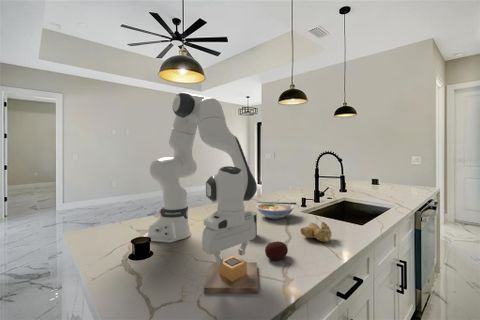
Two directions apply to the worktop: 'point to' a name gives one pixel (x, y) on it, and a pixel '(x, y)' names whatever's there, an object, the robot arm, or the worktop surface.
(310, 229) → the ginger root
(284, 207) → the ramen bowl
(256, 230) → the canned tomato
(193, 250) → the worktop surface
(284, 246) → the potato
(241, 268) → the orange square tube
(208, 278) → the base plate
